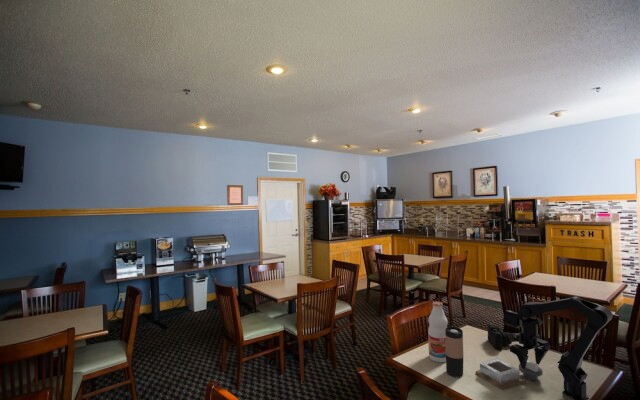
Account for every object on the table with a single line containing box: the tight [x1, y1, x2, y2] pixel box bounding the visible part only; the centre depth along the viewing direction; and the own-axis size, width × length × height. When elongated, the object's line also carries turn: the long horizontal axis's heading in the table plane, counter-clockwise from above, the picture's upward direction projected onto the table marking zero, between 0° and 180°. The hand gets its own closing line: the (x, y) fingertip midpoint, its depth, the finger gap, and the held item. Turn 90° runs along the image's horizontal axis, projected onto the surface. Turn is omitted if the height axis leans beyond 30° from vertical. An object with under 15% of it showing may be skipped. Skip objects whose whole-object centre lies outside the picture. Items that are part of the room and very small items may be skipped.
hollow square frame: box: [479, 358, 521, 385], centre depth 146 cm, size 11×11×4 cm
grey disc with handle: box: [518, 359, 544, 382], centre depth 146 cm, size 9×9×7 cm
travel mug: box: [445, 326, 464, 378], centre depth 150 cm, size 8×8×20 cm
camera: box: [487, 323, 513, 352], centre depth 177 cm, size 14×11×10 cm
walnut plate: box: [475, 369, 526, 391], centre depth 146 cm, size 14×13×1 cm
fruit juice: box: [427, 301, 449, 363], centre depth 164 cm, size 9×9×28 cm
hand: (530, 366), depth 146 cm, fingers open, 9 cm apart
